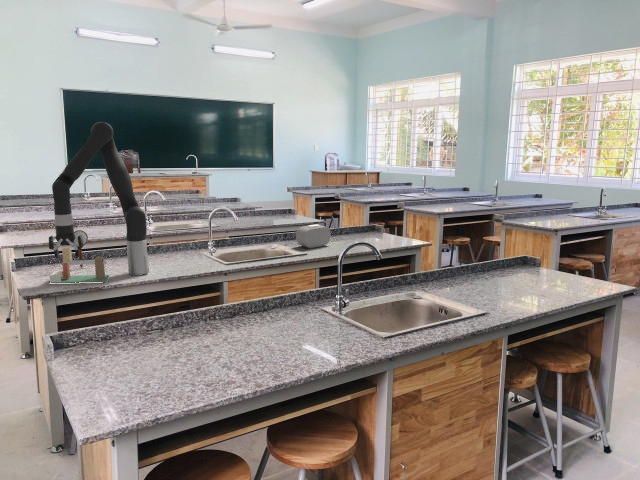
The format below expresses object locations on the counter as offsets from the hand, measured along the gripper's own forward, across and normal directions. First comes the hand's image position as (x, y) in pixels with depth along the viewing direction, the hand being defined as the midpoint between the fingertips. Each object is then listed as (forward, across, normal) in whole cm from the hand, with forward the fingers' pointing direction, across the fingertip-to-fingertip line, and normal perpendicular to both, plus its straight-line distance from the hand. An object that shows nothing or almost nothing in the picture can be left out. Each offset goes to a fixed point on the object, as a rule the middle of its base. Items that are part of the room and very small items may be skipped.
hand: (67, 257), depth 239 cm
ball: (+8, +4, 0) cm, 9 cm away
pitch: (+11, -4, 0) cm, 12 cm away
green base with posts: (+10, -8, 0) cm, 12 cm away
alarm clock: (+12, -126, -61) cm, 140 cm away
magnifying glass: (+12, 0, -22) cm, 25 cm away
